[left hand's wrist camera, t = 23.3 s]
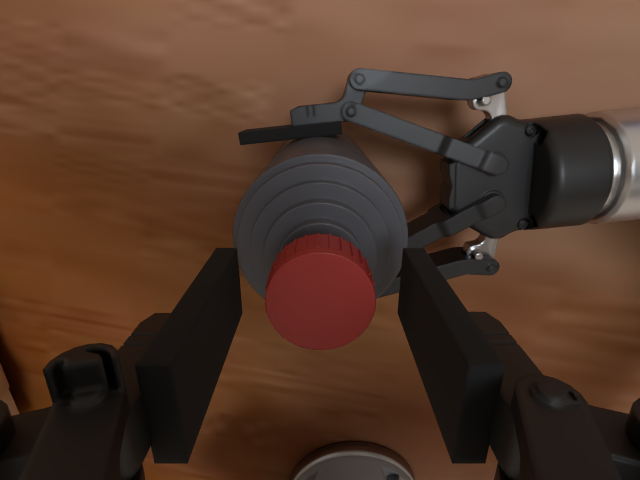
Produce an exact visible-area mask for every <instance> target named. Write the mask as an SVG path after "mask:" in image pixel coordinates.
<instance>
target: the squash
mask: <svg viewBox="0 0 640 480" xmlns="http://www.w3.org/2000/svg"><path fill="white" fill-rule="evenodd" d="M9 387H10V386H9V384H8V381H7V379H6V376H5V373H4V371H3V368H2V366H1V363H0V400H2V401H3V402H5V403H6V404H7V405H8V407H9V410H10V413H11V416H13V415H17V414H19V411H18V409H17V407H16V405H15V402H14V400H13V398H12V395H11V393H10V391H9V389H8V388H9Z"/></svg>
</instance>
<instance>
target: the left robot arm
mask: <svg viewBox="0 0 640 480" xmlns="http://www.w3.org/2000/svg"><path fill="white" fill-rule="evenodd" d="M241 315H242V303H241V290H240V278H239V266H238V253H237V248H216V249H215V251H214V252H213V254H212V255H211V257H210V258H209V259H208V261H207V262H206V264H205V265H204V267H203V268H202V270H201V271H200V272H199V274H198V275H197V277H196V278H195V280H194V281H193V282H192V284H191V285H190V287H189V288H188V290H187V291H186V292H185V294H184V295H183V297H182V298H181V300H180V301H179V303H178V304H177V305H176V307H175V308H174V310H173V311H172V313H155V314H153V315H151V316H150V317H148V318H147V319H145V320H144V321H142V322H141V323H140V324H139V325H138V326H137V328H136V329H135V330H134V331H133V333H132V334H131V336H129V337H128V339H127V340H126V341H125V342H124V346H121V347H120V349H119V350H118V351H117V349H116V348H114V347H113V346H112V345H108V344H103V343H97V344H87V345H83V346H79V347H75V348H73V349H71V350H68V351H66V352H64V353H61V354H60V355H58V356H57V357H56V358H54V359H53V360H51V361H50V362H49V363H48V364H47V365H46V366H45V368H44V369H43V373H44V376H45V379H46V382H47V386H48V389H49V392H50V395H51V399H52V402H53V405H52V406H51V407H48V408H44V409H40V410H35V411H31V412H26V413H22V414H17V415H13V416H11V413H10V410H9V407H8V405H7V404H6V403H5V402H3V401H2V400H0V480H145V475H144V469H143V464H142V463H143V461H144V459H145V456H146V454H147V452H148V450H149V448H150V446H151V448H152V453H153V458H154V463H188V461H189V458H190V455H191V453H192V450H193V447H194V444H195V442H196V439H197V436H198V433H199V431H200V428H201V425H202V422H203V420H204V417H205V414H206V411H207V409H208V406H209V403H210V400H211V398H212V395H213V392H214V389H215V387H216V384H217V381H218V378H219V376H220V373H221V370H222V367H223V365H224V362H225V359H226V356H227V354H228V351H229V348H230V345H231V343H232V340H233V337H234V334H235V332H236V329H237V326H238V323H239V321H240V318H241ZM398 315H399V318H400V321H401V323H402V326H403V329H404V332H405V334H406V337H407V340H408V343H409V345H410V348H411V351H412V354H413V356H414V359H415V362H416V365H417V367H418V370H419V373H420V376H421V378H422V381H423V384H424V387H425V389H426V392H427V395H428V398H429V400H430V403H431V406H432V409H433V411H434V414H435V417H436V420H437V422H438V425H439V428H440V431H441V433H442V436H443V439H444V442H445V444H446V447H447V450H448V453H449V455H450V458H451V461H452V463H486V458H487V453H488V448H489V444H490V446H491V448H492V450H493V452H494V454H495V456H496V459H497V461H498V464H497V469H496V473H495V478H494V480H640V398H639V399H638V400H636V401H635V402H634V403H633V405H632V407H631V410H630V413H629V414H626V413H622V412H617V411H613V410H608V409H604V408H599V407H595V406H591V405H588V404H587V402H586V401H585V399H584V398H583V397H582V395H581V394H580V393H579V392H578V391H576V390H575V389H574V388H572V387H571V386H570V385H568V384H566V383H564V382H562V381H560V380H558V379H556V378H552V377H549V376H545V375H543V374H542V373H541V372H540V370H539V369H538V368H537V367H536V365H535V364H534V363H533V362H532V361H531V359H530V358H529V357H528V356H527V354H526V353H525V352H524V351H523V349H522V348H521V347H520V346H519V345H517V342H516V341H515V340H514V338H513V337H512V336H511V335H509V332H508V331H507V330H506V328H505V327H504V326H503V325H502V323H501V322H500V321H498V320H497V319H495V318H494V317H492V316H491V315H489V314H488V313H486V312H468V311H467V310H466V308H465V307H464V305H463V304H462V303H461V301H460V300H459V298H458V297H457V295H456V294H455V292H454V291H453V290H452V288H451V287H450V285H449V284H448V282H447V281H446V280H445V278H444V277H443V275H442V274H441V272H440V271H439V270H438V268H437V267H436V265H435V264H434V262H433V261H432V259H431V258H430V257H429V255H428V254H427V252H426V251H425V249H424V248H403V253H402V266H401V278H400V290H399V303H398Z"/></svg>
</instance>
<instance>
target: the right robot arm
mask: <svg viewBox="0 0 640 480" xmlns="http://www.w3.org/2000/svg"><path fill="white" fill-rule="evenodd" d="M511 84H512V78H511V76H510V74H509V73H507V72H498V73H491V74H485V75H481V76H477V77H474V78H470V79H462V78H452V77H442V76H432V75H423V74H413V73H403V72H393V71H384V70H374V69H364V68H358V69H355V70H354V71H352V72H351V73H350V74H349V76H348V78H347V83H346V87H345V91H344V94H343V96H342V98H341V99H340V100H339V101H337V102H333V103H324V104H315V105H306V106H298V107H296V108H294V109H292V110H291V111H290V114H291V122H292V125H285V126H275V127H266V128H257V129H247V130H244V131H242V132H239V133H238V135H239V140H240V145H245V144H254V143H264V142H273V141H283V140H292V139H301V138H311V137H320V136H330V135H339V134H342V128H341V122H345V121H349V122H352V123H355V124H358V125H360V126H363V127H366V128H369V129H371V130H374V131H377V132H380V133H382V134H385V135H388V136H391V137H393V138H396V139H399V140H402V141H404V142H407V143H410V144H412V145H415V146H418V147H421V148H423V149H426V150H429V151H432V152H434V153H437V154H440V155H442V156H444V158H443V159H440V171H441V174H442V178H443V183H442V187H441V191H440V202H441V203H439V204H437V205H435V206H433V207H432V208H430V209H429V211H428V212H427V213H426V214H424V215H422V216H420V217H418V218H417V219H415V220H413V221H411V222H409V223H407V227H408V244H407V248H423V247H425V246H427V245H429V244H430V243H432V242H434V241H436V240H438V239H440V238H442V237H449V236H452V235H455V234H456V233H458V232H460V231H462V230H464V229H466V228H468V227H470V228H472V229H474V230H475V231H477V232H479V233H480V235H479V237H478V238H477V239H475V240H473V241H467V242H465V243H464V246H463V247H455V248H449V249H445V250H441V251H438V252H434V253H430V254H428V255H429V257H430V258H431V259H432V261H433V262H434V264H435V265H436V267H437V268H438V270H439V271H440V272H441V274H442V275H443V277H444V278H445V280H447V279H450V278H454V277H458V276H461V275H465V274H474V275H493V274H495V273H496V272H497V271H498V270H499V264H498V262H497V261H496V260H495V259H494V256H495V252H496V247H497V243H498V238H502V237H504V236H506V235H507V234H509V233H511V232H513V231H516V230H532V229H544V228H554V227H565V226H575V225H582V224H585V223H591V224H599V223H608V222H617V221H626V220H636V219H640V108H632V109H622V110H612V111H602V112H593V113H588V114H586V115H583V114H571V115H561V116H552V117H542V118H533V119H524V120H518V119H516V118H514V117H512V116H509V115H507V111H506V100H505V91H507V90H508V89H509V88H510V86H511ZM365 92H375V93H385V94H395V95H405V96H415V97H425V98H435V99H445V100H467V104H468V106H469V108H471V109H472V110H480V111H482V112H484V114H485V117H486V118H485V119H484V120H483V121H481V122H480V123H479V124H478V125H477V126H475V127H474V128H473V129H472V130H470V131H469V132H468V133H467V134H466V135H464V136H463V137H462V138H461V139H460V140H457V139H454V138H452V137H449V136H446V135H443V134H440V133H438V132H435V131H432V130H430V129H427V128H424V127H421V126H419V125H416V124H413V123H411V122H408V121H405V120H403V119H400V118H397V117H394V116H392V115H389V114H386V113H384V112H381V111H378V110H376V109H373V108H370V107H368V106H365V105H362V102H363V99H364V95H365ZM400 278H401V269H400V271H399V273H398V274H397V276H396V278H395V279H394V281H393V282H392V283H391V285H390V286H389V287H388V289H387V290H386V291H385V292H384V293H383V294H382V295H381V296H379V297H383V296H387V295H391V294H394V293H398V292H399V290H400ZM379 297H378V298H379ZM290 480H415V478H414V475H413V472H412V470H411V468H410V467H409V465H408V464H407V463H406V462H405V461H404V460H403V459H402V458H401V457H400V456H399V455H397V454H396V453H394V452H393V451H391V450H389V449H387V448H385V447H382V446H379V445H375V444H371V443H365V442H343V443H337V444H332V445H329V446H326V447H323V448H321V449H318V450H316V451H314V452H313V453H311V454H309V455H308V456H307V457H305V458H304V459H303V460H302V461H301V462H300V463H299V464H298V465H297V467H296V468H295V470H294V471H293V473H292V475H291V478H290Z"/></svg>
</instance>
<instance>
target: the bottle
mask: <svg viewBox="0 0 640 480" xmlns="http://www.w3.org/2000/svg"><path fill="white" fill-rule="evenodd" d="M317 233H319V234H328V235H329V234H331V235H333V236H337V237H342V239H344V240H346V241H348V242H349V243H350V242H352V244H353V246H355V247H356V248H357V249H358V250H359V249H360V250H361V254H362V255H363V257H364V258H366V259H367V262H368V266H369V268H370V269H371V273H372V276H373V280H374V283H375V286H374V289H375V292H376V299H377V298H378V297H379V296H381V295H382V294H383V293H384V292H385V291H386V290H387V289H388V287H389V286H390V285H391V283H392V282H393V281H394V279H395V278H396V276H397V274H398V273H399V271H400V269H401V266H402V253H403V248H407V244H408V227H407V220H406V216H405V213H404V209H403V207H402V204H401V202H400V200H399V198H398V196H397V195H396V193H395V192H394V190H393V189H392V187H391V186H390V185H389V183H388V182H387V181H386V180H385V179H384V177H383V176H382V175H381V174H380V172H379V171H378V170H377V169H376V167H375V166H374V165H373V164H372V162H371V161H370V160H369V159H368V158H367V156H366V155H365V154H364V153H363V151H362V150H361V149H360V148H359V146H358V145H357V144H356V143H355V142H354V141H353V140H352V139H351V138H349V137H348V136H346V135H345V134H343V133H342V134H339V135H330V136H320V137H311V138H301V139H292V140H288V141H287V142H286V143H285V144H284V145H283V146H282V147H281V149H280V150H279V151H278V152H277V154H276V155H275V156H274V157H273V159H272V160H271V161H270V162H269V164H268V165H267V166H266V167H265V168H264V170H263V171H262V172H261V173H260V175H259V176H258V177H257V178H256V180H255V181H254V182H253V183H252V185H251V186H250V187H249V189H248V190H247V191H246V193H245V194H244V196H243V198H242V200H241V202H240V204H239V207H238V209H237V211H236V215H235V220H234V225H233V246H234V248H237V253H238V265H239V267H240V269H241V271H242V273H243V275H244V276H245V278H246V279H247V281H248V283H249V284H250V285H251V286H252V287H253V289H254V290H255V291H256V292H257V293H258V294H259V295H260V296H262V297H263V298H264V299H265V295H266V290H265V288H266V284H267V281H268V277H269V273H270V270H271V267H272V263H273V262H275V260H276V258H277V254H278V253H280V252H281V251H282V250H283V249H284V248H285V245H289V244H290V243H292V242H293V241H294V239H299V238H301V237H304V236H305V235H313V234H317Z"/></svg>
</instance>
